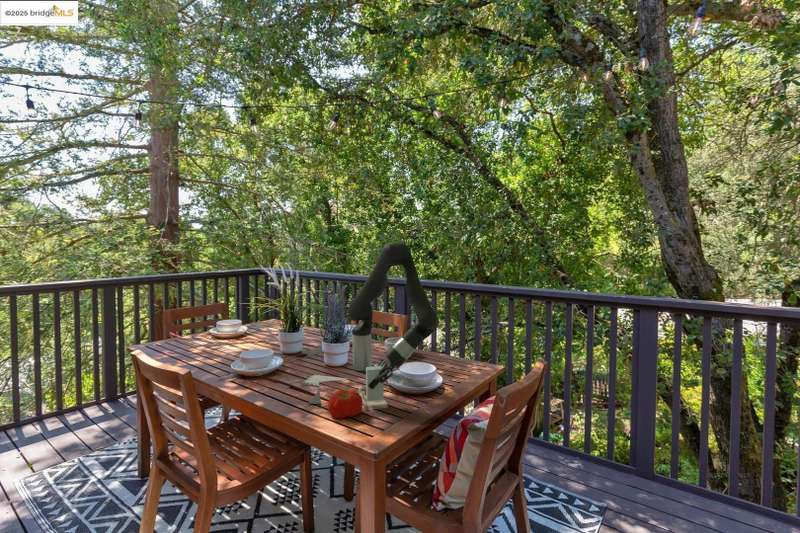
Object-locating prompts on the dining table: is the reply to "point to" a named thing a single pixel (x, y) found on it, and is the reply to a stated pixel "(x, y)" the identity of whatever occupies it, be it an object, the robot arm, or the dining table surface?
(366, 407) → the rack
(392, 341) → the paper bowls
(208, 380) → the dining table surface
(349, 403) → the tomato
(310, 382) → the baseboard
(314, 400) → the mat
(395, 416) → the dining table surface
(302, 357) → the dining table surface
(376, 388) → the pale green block
